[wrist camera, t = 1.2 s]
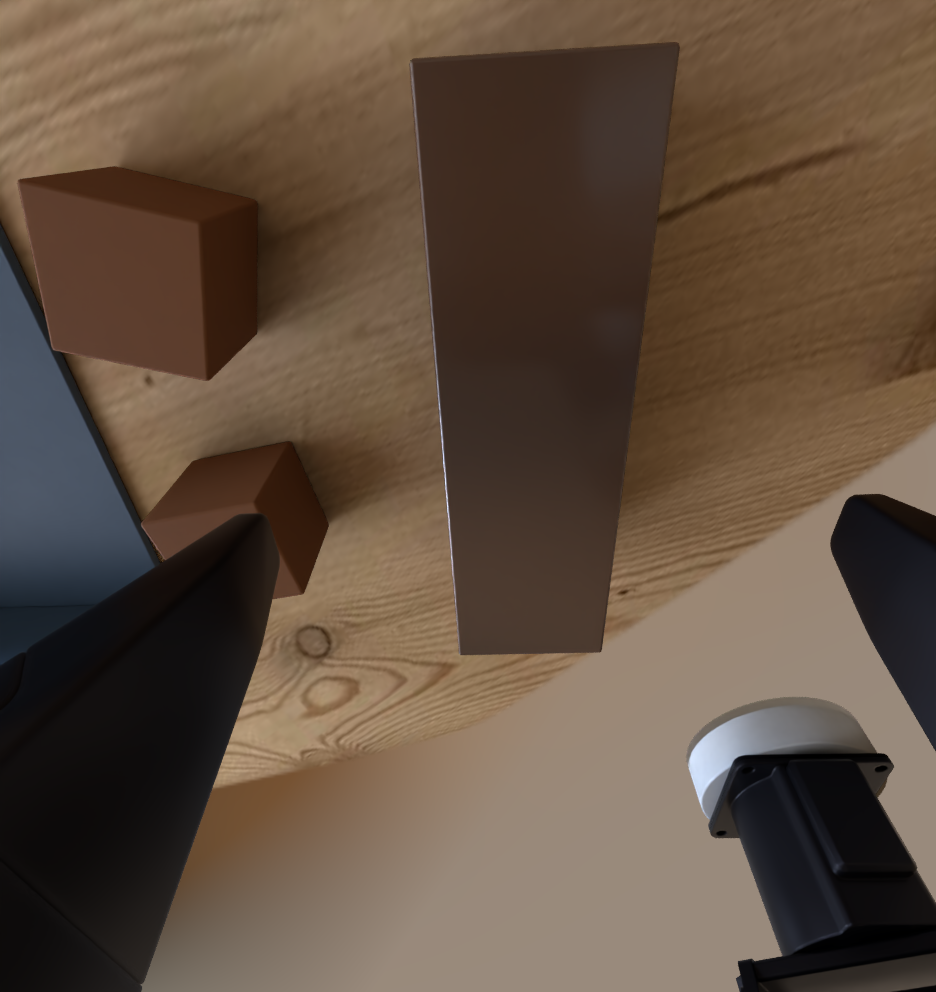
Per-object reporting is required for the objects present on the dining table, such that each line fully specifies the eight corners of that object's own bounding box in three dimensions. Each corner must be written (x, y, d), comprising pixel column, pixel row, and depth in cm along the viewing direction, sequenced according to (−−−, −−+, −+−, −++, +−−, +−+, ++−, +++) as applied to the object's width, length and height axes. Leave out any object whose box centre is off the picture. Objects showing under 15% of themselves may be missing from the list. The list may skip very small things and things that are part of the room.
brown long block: (578, 550, 17) (601, 653, 14) (462, 554, 17) (459, 656, 14) (618, 64, 11) (681, 41, 7) (430, 76, 11) (408, 57, 7)
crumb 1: (258, 334, 14) (208, 383, 11) (130, 307, 13) (51, 351, 11) (258, 199, 12) (201, 221, 10) (112, 165, 12) (13, 177, 9)
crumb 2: (330, 525, 17) (304, 595, 14) (239, 541, 17) (199, 612, 15) (291, 439, 15) (254, 502, 13) (191, 459, 16) (138, 524, 13)
